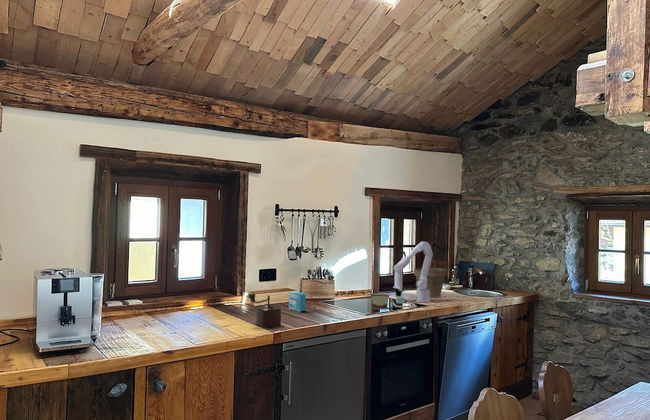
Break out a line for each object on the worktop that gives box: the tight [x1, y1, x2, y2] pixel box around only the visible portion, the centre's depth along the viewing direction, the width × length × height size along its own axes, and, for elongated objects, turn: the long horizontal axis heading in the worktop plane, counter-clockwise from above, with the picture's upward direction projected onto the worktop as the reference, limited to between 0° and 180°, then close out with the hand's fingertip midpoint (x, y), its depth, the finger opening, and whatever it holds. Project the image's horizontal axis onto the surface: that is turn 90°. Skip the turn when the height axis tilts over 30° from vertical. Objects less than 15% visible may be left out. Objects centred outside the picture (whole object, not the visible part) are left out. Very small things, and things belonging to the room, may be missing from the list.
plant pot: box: [413, 267, 447, 299], centre depth 374 cm, size 25×25×22 cm
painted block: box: [395, 295, 405, 304], centre depth 342 cm, size 5×7×4 cm
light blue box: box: [288, 291, 307, 312], centre depth 306 cm, size 12×4×12 cm, turn 43°
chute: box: [390, 298, 418, 308], centre depth 336 cm, size 14×26×2 cm, turn 4°
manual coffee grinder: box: [248, 292, 282, 328], centre depth 261 cm, size 16×11×18 cm
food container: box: [370, 292, 390, 310], centre depth 319 cm, size 12×6×10 cm, turn 84°
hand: (398, 299), depth 347 cm, fingers closed
